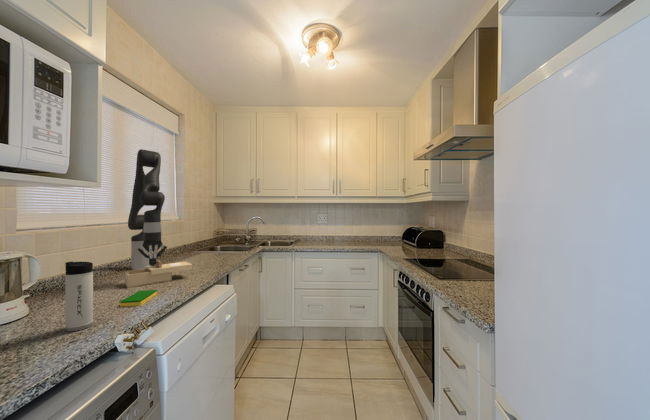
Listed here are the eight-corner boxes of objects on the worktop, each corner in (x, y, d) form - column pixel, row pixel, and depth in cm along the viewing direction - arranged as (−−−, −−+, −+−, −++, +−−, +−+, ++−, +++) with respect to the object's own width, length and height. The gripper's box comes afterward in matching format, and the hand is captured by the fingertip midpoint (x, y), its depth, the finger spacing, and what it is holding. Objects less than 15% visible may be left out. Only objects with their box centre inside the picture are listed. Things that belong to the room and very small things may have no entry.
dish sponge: (119, 308, 99) (119, 301, 99) (139, 296, 113) (139, 290, 113) (140, 306, 100) (140, 300, 100) (157, 295, 114) (157, 289, 114)
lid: (146, 270, 137) (146, 260, 137) (185, 265, 150) (185, 256, 150) (151, 274, 129) (150, 263, 129) (192, 268, 141) (192, 258, 141)
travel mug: (76, 323, 84) (75, 260, 84) (98, 322, 85) (98, 259, 85) (58, 332, 78) (57, 264, 78) (82, 331, 79) (81, 263, 79)
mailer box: (124, 283, 130) (124, 271, 130) (166, 277, 143) (166, 266, 143) (127, 288, 123) (127, 275, 123) (171, 280, 135) (171, 269, 135)
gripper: (165, 230, 141) (165, 262, 141) (135, 231, 132) (135, 266, 132) (169, 231, 136) (169, 265, 136) (137, 232, 127) (137, 269, 127)
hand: (152, 265), depth 134 cm, fingers closed
